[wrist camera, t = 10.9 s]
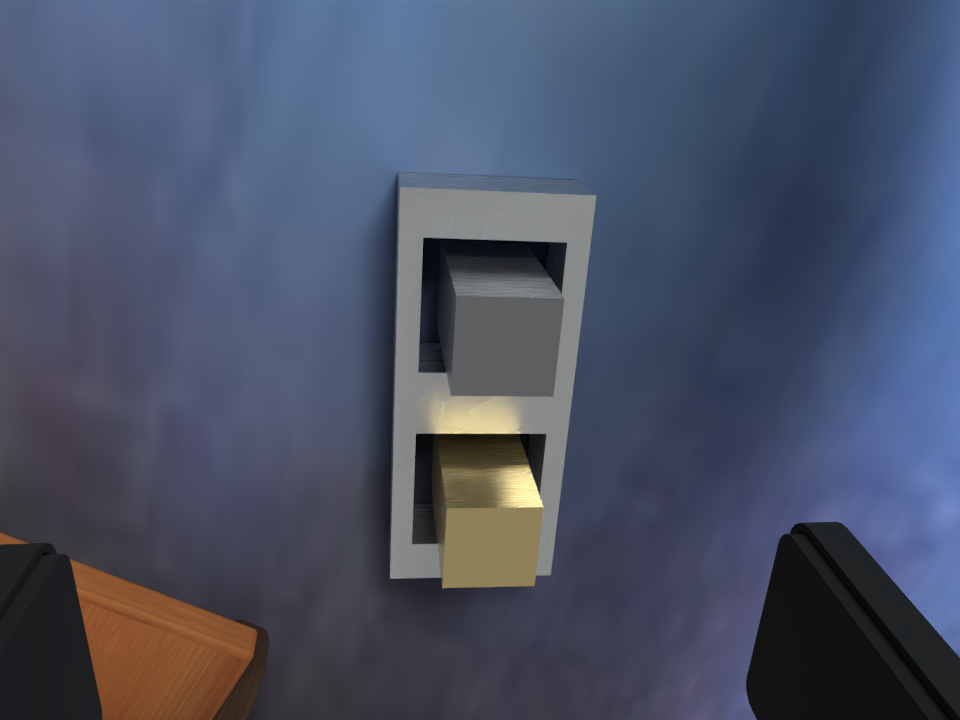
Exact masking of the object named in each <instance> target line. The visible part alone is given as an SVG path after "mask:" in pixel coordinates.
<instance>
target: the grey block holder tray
mask: <svg viewBox="0 0 960 720" xmlns="http://www.w3.org/2000/svg"><path fill="white" fill-rule="evenodd" d="M595 203H596V195H595V194H594V193H593V192H591V191H590V190H589V189H588V188H586V187H585V186H584V185H582V184H581V183H580V182H579V181H577V180H563V179H541V178H519V177H497V176H475V175H453V174H431V173H409V172H398V192H397V234H396V276H395V318H394V360H393V402H392V444H391V486H390V528H389V546H390V579H399V578H441V572H440V563H439V554H438V545H437V536H436V527H435V517H434V508H433V504H413V501H414V474H415V447H416V434H530V436H529V446H528V456H527V460H528V463H529V466H530V469H531V472H532V475H533V478H534V481H535V484H536V487H537V490H538V493H539V496H540V498H541V501H542V504H543V516H542V525H541V534H540V543H539V551H538V560H537V569H536V575H551V568H552V560H553V552H554V543H555V535H556V527H557V519H558V510H559V502H560V494H561V485H562V477H563V469H564V460H565V452H566V444H567V436H568V427H569V419H570V411H571V402H572V394H573V386H574V378H575V369H576V361H577V353H578V344H579V336H580V328H581V320H582V311H583V303H584V295H585V286H586V278H587V270H588V261H589V253H590V245H591V237H592V228H593V220H594V212H595ZM423 238H449V239H478V240H507V241H536V242H549V246H548V256H547V266H546V272H547V274H548V275H549V277H550V278H551V279H552V281H553V282H554V284H555V285H556V287H557V288H558V290H559V291H560V293H561V294H562V296H563V297H564V308H563V317H562V326H561V335H560V344H559V352H558V361H557V370H556V379H555V388H554V397H519V396H451V395H450V390H449V384H448V379H447V374H446V369H445V364H444V358H443V353H442V348H441V343H419V339H420V312H421V285H422V258H423Z"/></svg>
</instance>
